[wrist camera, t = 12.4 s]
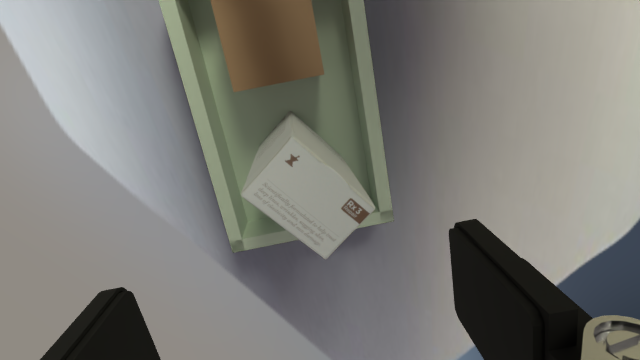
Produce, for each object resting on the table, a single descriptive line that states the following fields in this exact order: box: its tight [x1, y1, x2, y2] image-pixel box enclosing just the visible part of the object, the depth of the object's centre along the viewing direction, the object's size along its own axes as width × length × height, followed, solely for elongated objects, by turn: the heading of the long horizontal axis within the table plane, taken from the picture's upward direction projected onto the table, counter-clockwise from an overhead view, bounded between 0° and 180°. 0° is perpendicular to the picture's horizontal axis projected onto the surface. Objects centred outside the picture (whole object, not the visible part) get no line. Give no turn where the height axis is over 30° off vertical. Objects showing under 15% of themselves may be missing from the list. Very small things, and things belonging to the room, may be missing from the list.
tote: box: [159, 0, 394, 253], centre depth 27 cm, size 13×20×4 cm, turn 11°
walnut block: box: [210, 0, 324, 92], centre depth 25 cm, size 6×6×5 cm
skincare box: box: [241, 111, 375, 259], centre depth 24 cm, size 6×4×12 cm
